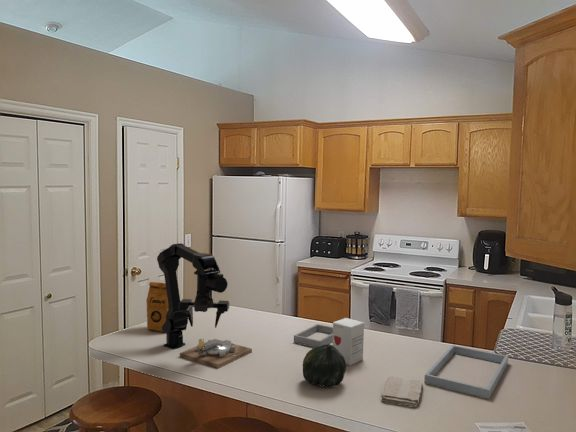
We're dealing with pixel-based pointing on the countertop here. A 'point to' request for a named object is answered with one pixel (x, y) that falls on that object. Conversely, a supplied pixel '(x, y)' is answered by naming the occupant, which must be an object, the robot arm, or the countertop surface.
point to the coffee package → (157, 306)
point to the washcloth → (402, 391)
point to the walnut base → (216, 360)
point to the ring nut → (215, 348)
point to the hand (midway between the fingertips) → (203, 327)
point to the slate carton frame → (463, 386)
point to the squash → (324, 366)
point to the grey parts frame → (301, 336)
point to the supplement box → (349, 339)
